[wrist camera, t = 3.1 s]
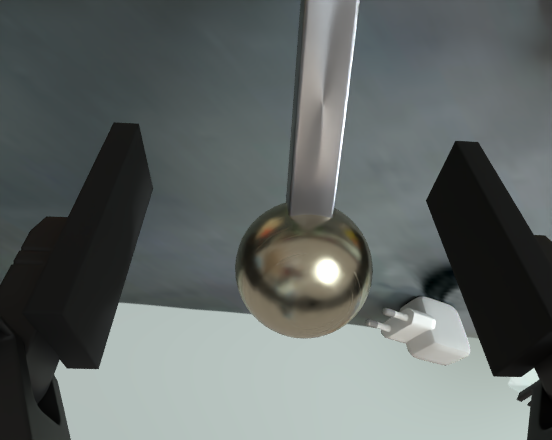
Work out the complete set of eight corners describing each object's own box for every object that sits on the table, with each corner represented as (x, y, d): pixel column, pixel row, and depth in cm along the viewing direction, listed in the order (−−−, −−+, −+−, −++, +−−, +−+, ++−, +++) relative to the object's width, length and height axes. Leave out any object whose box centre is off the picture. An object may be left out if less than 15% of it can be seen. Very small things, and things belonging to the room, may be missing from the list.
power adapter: (354, 297, 42) (363, 349, 38) (384, 275, 39) (397, 329, 35) (428, 321, 46) (443, 370, 42) (461, 303, 43) (480, 354, 39)
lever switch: (347, 290, 13) (377, 371, 9) (237, 287, 13) (229, 369, 9) (431, -272, 8) (558, -516, 4) (252, -292, 8) (246, -564, 4)
